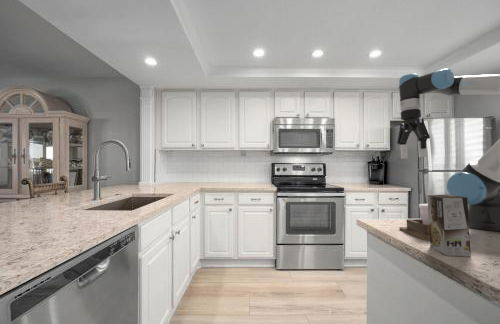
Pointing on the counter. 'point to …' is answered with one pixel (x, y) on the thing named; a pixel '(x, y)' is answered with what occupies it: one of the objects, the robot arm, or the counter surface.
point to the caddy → (417, 229)
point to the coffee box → (449, 224)
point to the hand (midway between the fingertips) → (413, 157)
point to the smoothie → (424, 213)
